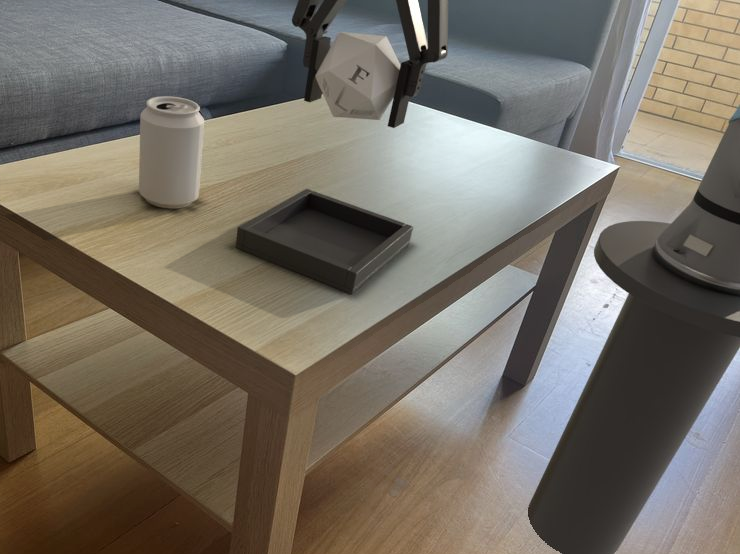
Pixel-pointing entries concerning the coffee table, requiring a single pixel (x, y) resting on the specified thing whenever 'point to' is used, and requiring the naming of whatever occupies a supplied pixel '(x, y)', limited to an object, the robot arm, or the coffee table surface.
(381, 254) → the dark grey shallow tray
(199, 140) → the can
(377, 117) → the die
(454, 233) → the coffee table surface
